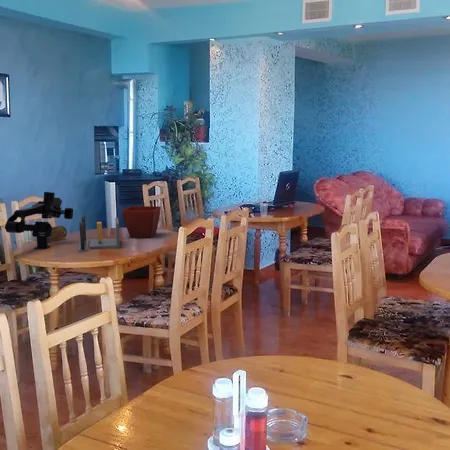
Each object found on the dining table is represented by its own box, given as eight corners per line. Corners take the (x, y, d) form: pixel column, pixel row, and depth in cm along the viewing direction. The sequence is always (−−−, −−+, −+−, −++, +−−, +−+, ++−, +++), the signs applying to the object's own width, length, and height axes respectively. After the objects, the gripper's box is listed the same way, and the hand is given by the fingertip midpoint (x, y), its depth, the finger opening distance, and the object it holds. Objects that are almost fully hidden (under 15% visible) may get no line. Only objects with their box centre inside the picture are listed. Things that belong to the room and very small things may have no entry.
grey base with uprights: (89, 249, 328) (88, 224, 326) (90, 241, 349) (89, 218, 347) (119, 248, 331) (118, 223, 329) (118, 240, 352) (117, 217, 350)
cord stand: (77, 252, 322) (76, 223, 320) (80, 241, 353) (79, 215, 351) (87, 251, 323) (86, 223, 321) (89, 240, 354) (87, 215, 352)
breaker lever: (97, 243, 337) (96, 223, 335) (97, 241, 342) (97, 222, 340) (102, 243, 337) (101, 223, 336) (102, 241, 342) (101, 221, 340)
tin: (46, 243, 348) (45, 228, 346) (43, 242, 350) (42, 228, 348) (67, 239, 359) (66, 225, 358) (64, 238, 361) (63, 224, 360)
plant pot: (122, 238, 360) (121, 210, 357) (131, 232, 379) (131, 206, 376) (154, 239, 357) (153, 210, 355) (161, 233, 376) (161, 206, 373)
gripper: (66, 197, 338) (80, 201, 353) (37, 196, 344) (52, 201, 358) (64, 217, 337) (79, 220, 352) (35, 216, 342) (50, 219, 357)
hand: (65, 215), depth 355 cm, fingers open, 9 cm apart
